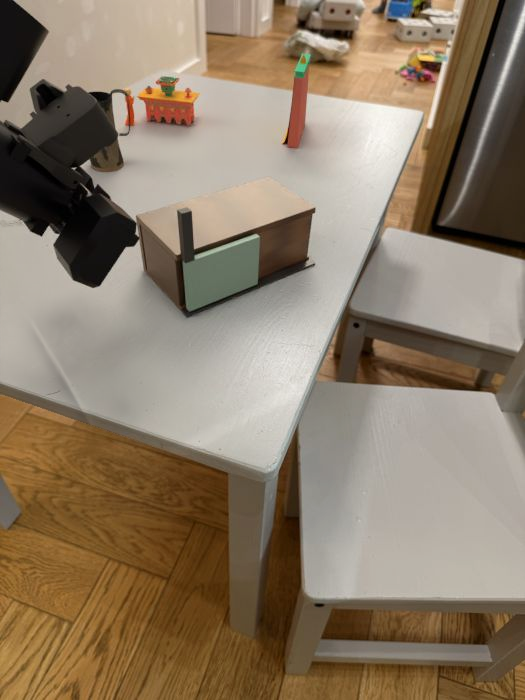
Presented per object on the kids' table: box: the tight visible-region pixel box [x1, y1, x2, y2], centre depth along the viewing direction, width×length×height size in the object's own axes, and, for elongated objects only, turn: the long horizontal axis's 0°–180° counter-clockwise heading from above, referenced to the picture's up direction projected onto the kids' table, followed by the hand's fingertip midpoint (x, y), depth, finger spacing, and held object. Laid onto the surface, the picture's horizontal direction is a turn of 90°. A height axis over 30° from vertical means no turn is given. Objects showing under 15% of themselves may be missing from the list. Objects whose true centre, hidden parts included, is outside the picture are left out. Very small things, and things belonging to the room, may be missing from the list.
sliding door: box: [177, 207, 260, 312], centre depth 57 cm, size 10×1×13 cm, turn 126°
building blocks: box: [123, 53, 312, 149], centre depth 96 cm, size 12×35×14 cm, turn 80°
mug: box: [88, 88, 131, 173], centre depth 82 cm, size 8×6×12 cm
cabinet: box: [135, 176, 316, 318], centre depth 64 cm, size 20×11×8 cm, turn 126°
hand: (135, 240), depth 49 cm, fingers closed
